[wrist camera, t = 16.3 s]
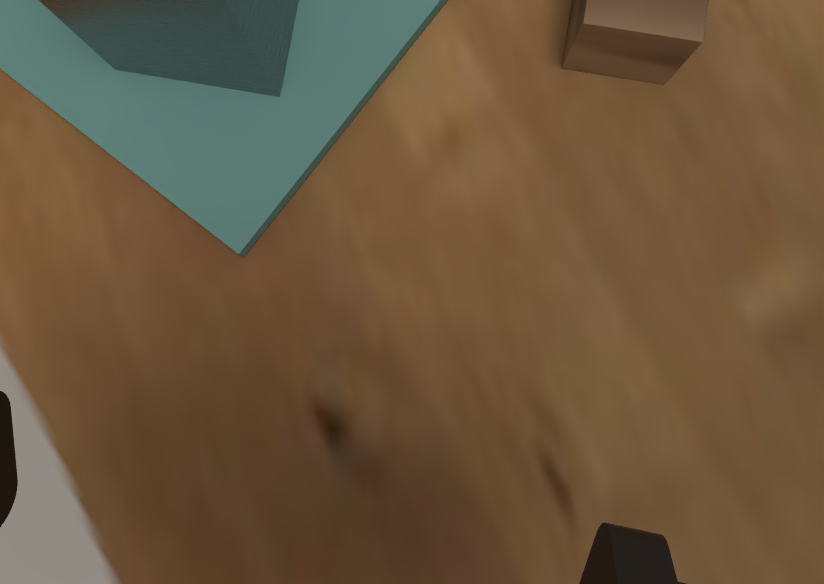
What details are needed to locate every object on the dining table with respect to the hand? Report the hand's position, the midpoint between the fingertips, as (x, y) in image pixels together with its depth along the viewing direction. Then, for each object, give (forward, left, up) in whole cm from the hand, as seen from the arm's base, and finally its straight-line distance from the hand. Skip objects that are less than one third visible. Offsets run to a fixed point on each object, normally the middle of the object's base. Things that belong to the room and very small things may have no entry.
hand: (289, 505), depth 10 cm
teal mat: (-8, -14, -18) cm, 24 cm away
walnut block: (-17, -1, -18) cm, 25 cm away
